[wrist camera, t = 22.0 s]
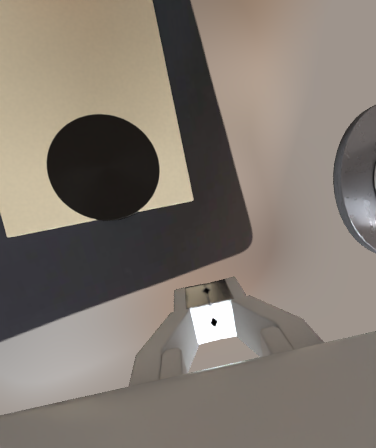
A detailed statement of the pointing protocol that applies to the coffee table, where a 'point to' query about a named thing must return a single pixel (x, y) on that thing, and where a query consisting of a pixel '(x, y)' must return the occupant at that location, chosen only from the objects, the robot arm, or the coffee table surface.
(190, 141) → the coffee table surface
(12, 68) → the hob
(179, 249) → the coffee table surface
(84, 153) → the black round disc
